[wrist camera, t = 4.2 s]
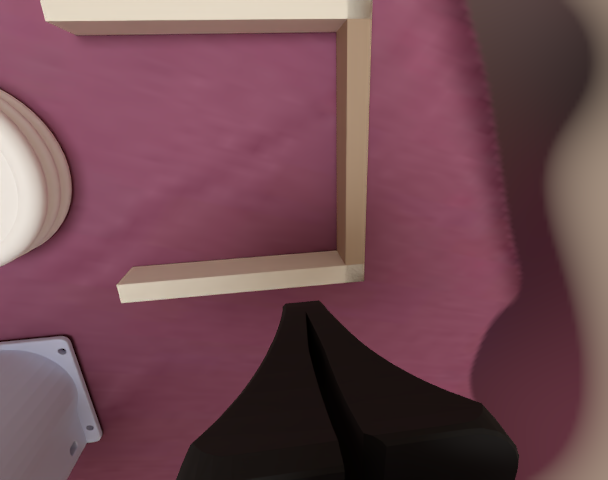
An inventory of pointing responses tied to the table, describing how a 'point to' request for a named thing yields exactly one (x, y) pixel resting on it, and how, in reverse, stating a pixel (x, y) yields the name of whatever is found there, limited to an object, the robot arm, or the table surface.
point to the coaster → (29, 180)
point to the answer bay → (350, 130)
